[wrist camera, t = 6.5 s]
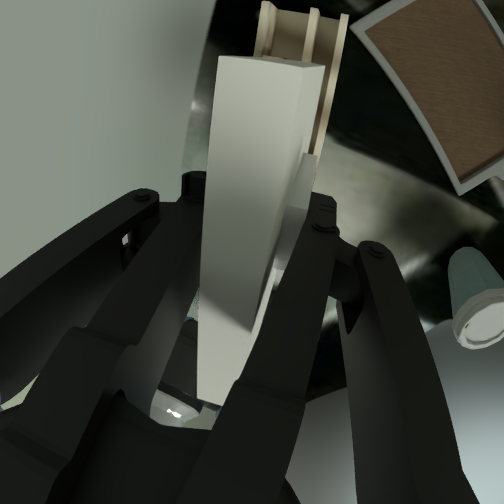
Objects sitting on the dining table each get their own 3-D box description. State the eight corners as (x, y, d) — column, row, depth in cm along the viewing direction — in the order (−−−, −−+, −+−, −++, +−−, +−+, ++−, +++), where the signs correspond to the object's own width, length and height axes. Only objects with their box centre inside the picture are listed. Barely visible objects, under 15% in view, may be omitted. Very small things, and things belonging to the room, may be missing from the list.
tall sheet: (299, 192, 30) (234, 409, 12) (282, 188, 30) (197, 398, 12) (325, 65, 23) (304, 67, 5) (306, 61, 23) (218, 55, 5)
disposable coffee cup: (500, 243, 41) (536, 305, 29) (474, 293, 47) (496, 358, 35) (450, 228, 42) (480, 292, 30) (425, 283, 49) (442, 351, 37)
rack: (311, 189, 45) (307, 210, 39) (248, 174, 46) (234, 193, 40) (346, 22, 31) (348, 15, 25) (273, 9, 32) (262, 0, 26)
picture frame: (456, -34, 20) (554, 154, 29) (452, -32, 22) (549, 150, 31) (348, 25, 30) (465, 211, 39) (348, 27, 32) (462, 206, 40)
